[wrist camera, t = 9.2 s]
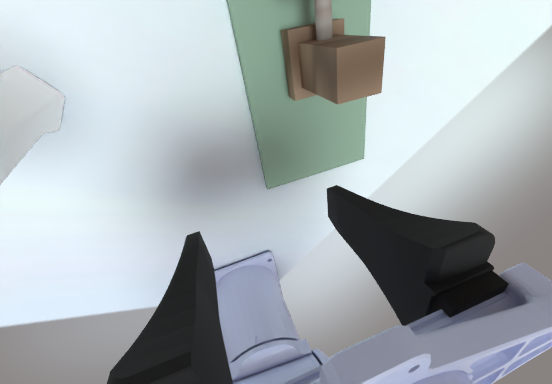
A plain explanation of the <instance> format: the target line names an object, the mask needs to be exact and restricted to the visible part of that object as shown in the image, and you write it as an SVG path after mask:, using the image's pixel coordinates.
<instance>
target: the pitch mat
mask: <svg viewBox="0 0 552 384" xmlns="http://www.w3.org/2000/svg"><path fill="white" fill-rule="evenodd" d="M227 3H228V8H229V12H230V17H231V22H232V27H233V31H234V36H235V41H236V45H237V50H238V55H239V59H240V64H241V69H242V74H243V78H244V83H245V88H246V92H247V97H248V102H249V106H250V111H251V116H252V121H253V125H254V130H255V135H256V139H257V144H258V149H259V154H260V158H261V163H262V168H263V172H264V177H265V182H266V186H267V188H268V189H271V188H274V187H277V186H280V185H283V184H286V183H290V182H293V181H296V180H299V179H302V178H305V177H308V176H311V175H314V174H318V173H321V172H324V171H327V170H330V169H333V168H336V167H339V166H342V165H346V164H349V163H352V162H355V161H358V160H361V159H364V146H365V124H366V102H367V97H364V98H360V99H357V100H353V101H349V102H346V103H342V104H338V105H337V104H335V103H333V102H331V101H329V100H327V99H325V98H323V97H320V96H318V95H316V96H312V97H309V98H305V99H301V100H297V101H294V100H293V99H291V98H290V97H289V91H288V82H287V74H286V66H285V58H284V50H283V42H282V33H281V30H284V29H288V28H293V27H298V26H303V25H308V24H312V23H315V7H314V0H227ZM370 13H371V0H332V19H341V18H344V35H359V36H369V35H370Z"/></svg>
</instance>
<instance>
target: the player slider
mask: <svg viewBox="0 0 552 384" xmlns="http://www.w3.org/2000/svg"><path fill="white" fill-rule="evenodd" d="M314 7H315V23H312V24H308V25H303V26H298V27H293V28H288V29H284V30H281V33H282V42H283V50H284V58H285V66H286V74H287V82H288V91H289V97H290V98H291V99H293V100H294V101H297V100H301V99H305V98H309V97H312V96H316V95H318V96H320V97H323V98H325V99H327V100H329V101H331V102H333V103H335V104H337V105H338V104H342V103H346V102H349V101H353V100H357V99H360V98H364V97H368V96H371V95H375V94H378V93H381V89H382V76H383V62H384V49H385V37H378V36H359V35H344V18H341V19H332V0H314Z"/></svg>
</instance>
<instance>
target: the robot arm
mask: <svg viewBox="0 0 552 384" xmlns="http://www.w3.org/2000/svg"><path fill="white" fill-rule="evenodd" d="M327 202H328V217H329V218H330V220H331V222H332V223H333V225H334V227H335V228H336V230H337V231H338V232H339V234H340V235H341V236H342V237H343V238H344V240H345V241H346V242H347V243H348V244H349V246H350V247H351V248H352V249H353V250H354V252H355V253H356V254H357V255H358V256H359V258H360V259H361V260H362V261H363V263H364V264H365V265H366V267H367V268H368V270H369V271H370V272H371V274H372V276H373V277H374V279H375V280H376V282H377V284H378V285H379V287H380V288H381V290H382V291H383V293H384V295H385V296H386V298H387V300H388V301H389V303H390V305H391V306H392V308H393V310H394V311H395V313H396V315H397V317H398V319H399V320H400V322H401V324H402V325H398V326H395V327H392V328H389V329H387V330H385V331H382V332H380V333H378V334H376V335H374V336H372V337H369V338H367V339H366V340H363V341H361V342H359V343H357V344H354V345H352V346H350V347H348V348H346V349H344V350H341V351H340V352H338V353H336V354H335V355H333V356H331V357H330V358H329V357H328V356H326V355H325V354H324V353H322V352H321V351H320V350H319V349H313V350H311V349H310V347H309V344H308V342H307V340H306V339H303V340H300V338H299V335H298V333H297V331H296V328H295V326H294V324H293V321H292V318H291V316H290V314H289V311H288V309H287V306H286V304H285V301H284V299H283V296H282V291H281V287H280V283H279V279H278V275H277V271H276V266H275V262H274V258H273V255H272V253H271V252H266V253H263V254H260V255H258V256H255V257H252V258H249V259H247V260H244V261H241V262H238V263H236V264H233V265H230V266H228V267H225V268H222V269H219V270H217V271H214V268H213V263H212V259H211V256H210V254H209V252H208V250H207V247H206V245H205V243H204V241H203V238H202V236H201V234H200V232H196V233H193V234H190V235H187V237H186V240H185V244H184V247H183V251H182V254H181V257H180V260H179V262H178V265H177V268H176V270H175V273H174V275H173V278H172V280H171V282H170V285H169V287H168V289H167V291H166V293H165V295H164V297H163V299H162V300H161V302H160V304H159V306H158V308H157V309H156V311H155V313H154V314H153V316H152V318H151V319H150V321H149V322H148V324H147V325H146V327H145V328H144V330H143V331H142V332H141V334H140V335H139V337H138V338H137V339H136V341H135V342H134V343H133V345H132V346H131V347H130V349H129V350H128V351H127V352H126V353H125V355H124V356H123V357H122V358H121V360H120V361H119V362H118V363H117V364H116V365H115V367H114V368H113V369H112V370H111V371H110V375H109V378H108V382H107V384H493V383H494V382H495V381H497V380H499V379H500V378H502V377H504V376H505V375H507V374H508V373H510V372H511V371H513V370H515V369H516V368H518V367H520V366H521V365H523V364H524V363H526V362H528V361H529V360H531V359H532V358H534V357H536V356H538V355H539V354H541V353H542V352H544V351H546V350H548V349H550V348H551V347H552V281H551V280H550V279H548V278H546V277H545V276H543V275H542V274H541V273H539V272H538V271H536V270H535V269H533V268H531V267H530V266H529V265H527V264H526V263H520V264H518V265H516V266H513V267H511V268H509V269H507V270H505V271H503V272H502V273H501V274H500V275H499V276H498V275H497V274H496V273H494V272H493V271H492V270H493V269H494V267H493V266H492V265H491V264H490V263H488V262H487V260H488V258H489V256H490V254H491V252H492V250H493V247H494V244H495V237H494V235H493V234H492V233H490V232H488V231H487V230H485V229H484V228H482V227H481V226H479V225H478V224H476V223H472V222H460V221H450V220H443V219H436V218H430V217H425V216H420V215H415V214H411V213H407V212H403V211H400V210H396V209H393V208H390V207H387V206H384V205H381V204H379V203H376V202H374V201H371V200H369V199H366V198H364V197H362V196H360V195H357V194H355V193H353V192H351V191H349V190H346V189H344V188H342V187H340V186H337V185H336V186H333V187H330V188H327Z"/></svg>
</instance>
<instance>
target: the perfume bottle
mask: <svg viewBox="0 0 552 384" xmlns="http://www.w3.org/2000/svg"><path fill="white" fill-rule="evenodd" d="M64 101H65V96H64V95H63V94H62V93H61V92H59V91H58V90H56V89H55V88H53V87H51V86H50V85H48V84H47V83H45V82H43V81H42V80H40V79H39V78H37V77H35V76H34V75H32V74H31V73H29V72H27V71H26V70H24V69H23V68H21V67H19V66H13V67H11V68H9V69H8V70H6V71H4V72H3V73H1V74H0V185H1V183H2V182H3V181H4V180H5V179H6V177H7V176H8V175H9V174H10V173H11V172H12V170H13V169H14V168H15V167H16V166H17V164H18V163H19V162H20V161H21V160H22V158H23V157H24V156H25V155H26V154H27V152H28V151H29V150H30V149H31V148H32V146H33V145H34V144H35V143H36V142H37V140H38V139H39V138H40V137H41V136H42V134H45V133H51V132H56V131H58V130H59V129H60V125H61V119H62V113H63V107H64Z"/></svg>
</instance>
